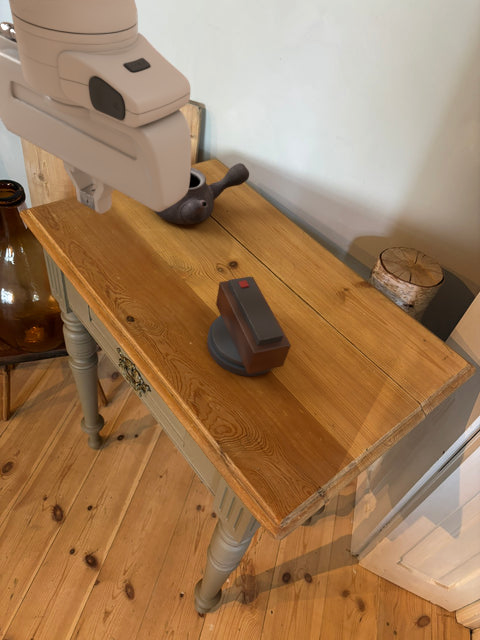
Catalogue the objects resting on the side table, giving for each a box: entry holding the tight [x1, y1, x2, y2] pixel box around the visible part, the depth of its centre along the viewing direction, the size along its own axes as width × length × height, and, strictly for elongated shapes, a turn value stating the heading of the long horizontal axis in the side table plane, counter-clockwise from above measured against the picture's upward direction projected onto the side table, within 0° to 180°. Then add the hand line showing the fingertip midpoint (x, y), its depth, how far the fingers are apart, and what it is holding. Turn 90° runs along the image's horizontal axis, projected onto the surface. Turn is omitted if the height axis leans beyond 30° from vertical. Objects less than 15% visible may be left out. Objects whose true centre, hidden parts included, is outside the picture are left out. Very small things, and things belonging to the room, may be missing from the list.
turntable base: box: [206, 319, 273, 377], centre depth 72 cm, size 12×12×2 cm
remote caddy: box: [212, 276, 292, 374], centre depth 68 cm, size 14×11×8 cm
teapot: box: [154, 162, 250, 225], centre depth 90 cm, size 19×15×10 cm
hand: (94, 205), depth 46 cm, fingers closed
